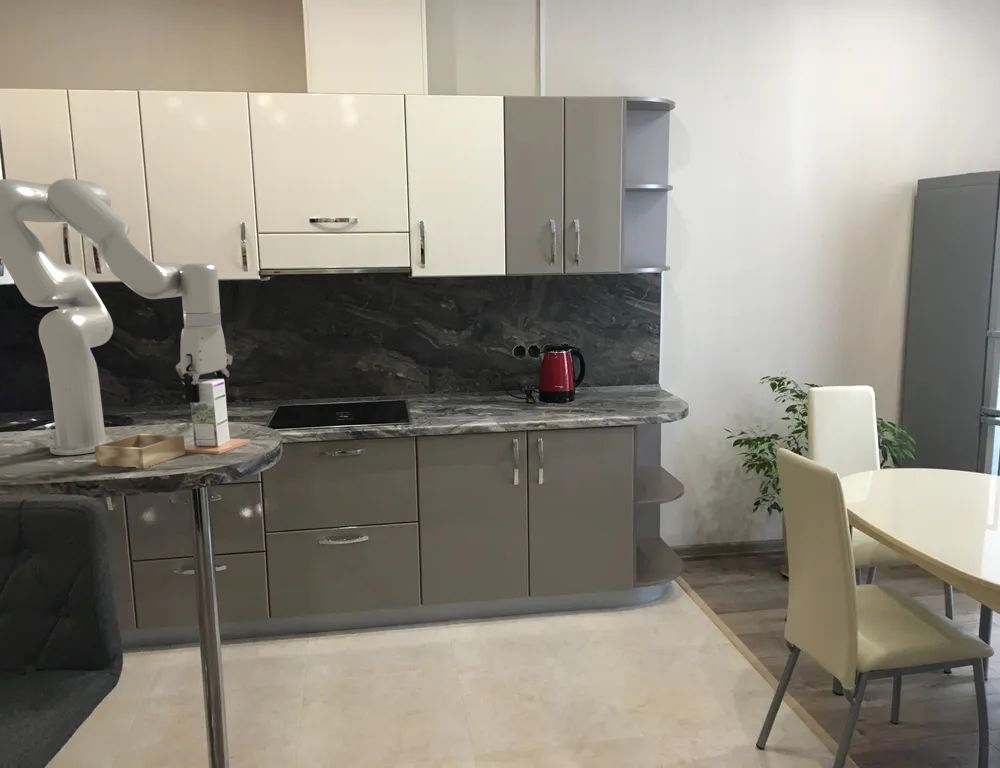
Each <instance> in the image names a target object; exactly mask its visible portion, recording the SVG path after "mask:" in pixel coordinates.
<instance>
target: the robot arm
mask: <svg viewBox="0 0 1000 768" xmlns="http://www.w3.org/2000/svg"><path fill="white" fill-rule="evenodd" d="M25 222H30V223H31V222H32V223H33V222H34V223H67V224H68V225H69V226H70V227H71V228H73V230H75V231H76V232H77V233H79V235H81V236H82V237H83V238H84V239H85V240H87V241H88V242H89V244H91V245H92V246H94V248H95V249H97V250H98V251H99V254H100V257H101V258H102V260H103V262H104V263H105V265H106V266H107V268H108V269H109V271H110V272H111V273H112V274H113V275H114V276H115V277H116V278H117V279H119V280H120V281H121V282H122V283H123V284H125V286H127V287H128V288H130V289H131V290H132V291H133V292H134V293H135V294H137V295H139V296H141V297H143V298H146V299H149V300H158V299H167V298H168V299H169V298H177V297H181V299H182V301H181V302H182V314H183V325H184V327H183V328H182V329H181V334H180V361H179V362H178V363H177V364H176V365H175V370H176V372H177V374H178V378H179V379H180V380H181V382H182V385H184V394H185V402H186V403H189V404H190V403H199V402H200V394H199V384H196V383H197V381H198V379H200V376H201V375H206V374H210V373H214V375H215V376H214V378H213V379H224V383H225V393H226V396H228V395H229V394H230V392H229V377H230V376H231V375H230V371H231V369H232V364H233V355H231V354H229V353H227V349H226V348H227V347H226V340H225V336H224V331H223V328H222V320H221V319H222V318H221V304H220V303H221V302H220V288H219V287H220V286H219V275H218V274H219V272H218V268H217V266H216V265H214V264H212V263H185V264H181V263H174V262H154V261H152V260H151V259H150V258H149V257H147V255H146V254H144V253H143V252H142V251H141V250H139V249H138V248H137V247H136V246H135V245H134V244H133V242H132V240H130V237H129V233H130V224H129V222H128V221H127V220H126V219H125V218H124V217H122V216H121V215H120V214H119V213H118V212H117V211H116V210H115V209H113V208H112V203H111V198H110V196H109V194H108V192H107V191H106V190H105V189H104V187H102V186H100V185H99V184H97V183H95V182H91V181H86V180H81V179H76V178H62V179H61V178H60V179H58V180H56V181H54V182H53V183H40V182H39V183H38V182H32V181H28V180H27V181H25V180H20V179H11V178H10V179H8V178H4V179H0V259H1V262H2V263H3V265H4V267H5V269H6V271H7V272H8V274H9V275H10V276H11V279H12V281H14V284H15V285H16V287H17V289H18V290H19V292H20V294H21V295H22V297H23V298H24V299H25V301H26V302H28V303H29V304H30V305H32V306H35V307H39V308H49V307H51V308H53V307H58V308H57V309H54V310H52V311H50V312H48V313H47V314H45V315H44V317H42V319H41V320H40V322H39V325H38V337H39V341H40V344H41V347H42V350H43V353H44V355H45V360H46V361H45V362H46V366H47V372H48V379H49V387H50V394H51V395H50V396H51V402H52V410H53V417H54V426H55V429H52V430H51V431H50V433H49V432H48V433H46V435H45V437H46V438H45V439H47V440H53V445H51V446H50V447H49V453H51V454H52V455H55V456H76V455H84V454H85V455H86V454H92V453H95V447H94V446H98V445H101V444H104V443H108V442H111V441H114V439H113V438H108V437H106V433H105V424H104V414H103V404H102V396H101V388H100V380H99V371H98V364H97V361H96V360H95V359H96V358H95V357H94V355H93V353H92V350H91V348H95V347H98V346H99V347H100V346H102V345H104V344H106V343H107V342H108V341H109V340H110V339H111V337H113V336H112V335H113V332H114V323H113V319H112V317H111V314H110V313H109V311H108V310H107V307H106V306H105V304H104V303H103V300H102V298H101V297H100V296H99V293H98V292H97V290H96V288H95V287H94V285H93V284H92V282H91V281H90V279H89V278H88V276H87V275H86V274H85V273H84V272H83V271H82V270H81V269H80V268H78V267H77V266H75V265H72V264H69V263H64V262H60V263H59V262H57V263H56V262H54V261H53V259H52V258H51V257H50V255H49V254H48V252H47V250H46V249H45V247H44V245H43V243H42V242H41V240H40V239H39V237H38V236H37V235H36V234H35V233H34V232H33V231H32V230H31V229H29V228H28V227H27V225H26V224H25Z"/></svg>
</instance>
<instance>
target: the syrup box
mask: <svg viewBox="0 0 1000 768" xmlns="http://www.w3.org/2000/svg"><path fill="white" fill-rule="evenodd" d="M196 384H199V394H200V402H199V403H189V404H190V413H191V423H192V431H193V443H194V444H195V447H219V446H222V445H224V444H226V443H227V442H229V441H230V439H231V438H230V429H229V420H228V411H227V410H228V408H227V395H226V393H225V383H224V379H215V378H201V379H200V378H198V381H197V383H196Z"/></svg>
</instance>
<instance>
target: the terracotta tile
mask: <svg viewBox="0 0 1000 768" xmlns="http://www.w3.org/2000/svg"><path fill="white" fill-rule="evenodd" d="M249 443H251V439H248V438H247V439H245V438H230V441H229V442H227V443H226V444H224V445H222V446H219V447H195V444H194V442H192V443H190V444H187V445H184V446H185V453H196V454H198V453H199V454H213V455H214V454H216V455H220V454H223V453H225V452H227V451H230V450H233V449H236V448H239V447H240V446H241V447H242V446H243V445H244V446H245V445H247V444H249Z"/></svg>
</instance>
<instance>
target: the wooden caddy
mask: <svg viewBox="0 0 1000 768" xmlns="http://www.w3.org/2000/svg"><path fill="white" fill-rule="evenodd" d="M185 446H186V445H185V437H184V435H175V434H174V435H173V434H153V433H136V434H135V433H134V434H132V435H129V436H125V437H123V438H118V439H115V440H113V441H111V442H108V443H104V444H101V445H98V446H94V447H95V452H94V453H95V463H96V466H98V465H100V467H112V466H123V467H122V468H127V467H136V468H135V469H142V468H144V469H147V468H150V467H152V465H153V466H155V464H156V465H158V464H161V463H163V462H166V461H170V460H172V459H176V458H178V457H180V456H184V455H186V452H185ZM149 466H150V467H149ZM146 467H147V468H146Z"/></svg>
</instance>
